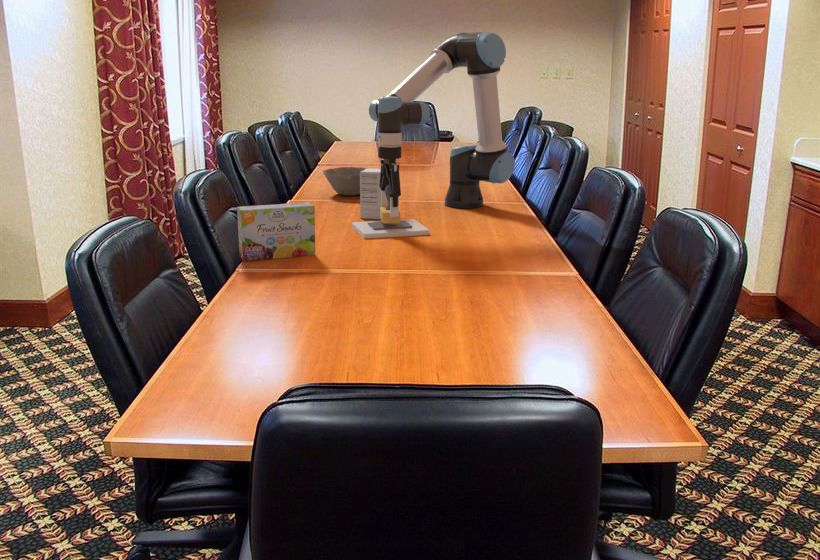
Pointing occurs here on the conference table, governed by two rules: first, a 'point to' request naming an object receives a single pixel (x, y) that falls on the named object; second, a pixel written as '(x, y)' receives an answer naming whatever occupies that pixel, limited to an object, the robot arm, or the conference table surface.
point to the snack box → (276, 231)
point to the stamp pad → (389, 229)
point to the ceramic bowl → (344, 179)
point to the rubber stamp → (388, 210)
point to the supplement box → (370, 194)
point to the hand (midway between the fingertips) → (389, 213)
